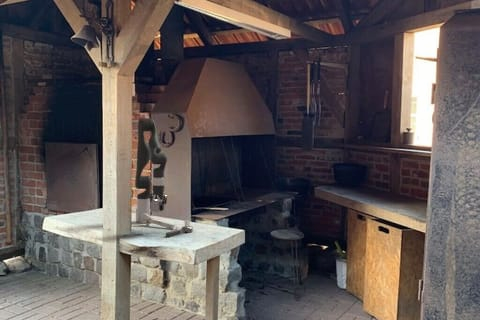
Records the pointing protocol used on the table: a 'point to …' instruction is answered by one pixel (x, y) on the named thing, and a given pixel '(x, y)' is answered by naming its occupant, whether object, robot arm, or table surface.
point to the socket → (156, 206)
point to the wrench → (157, 222)
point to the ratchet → (181, 230)
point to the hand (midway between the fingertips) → (158, 209)
